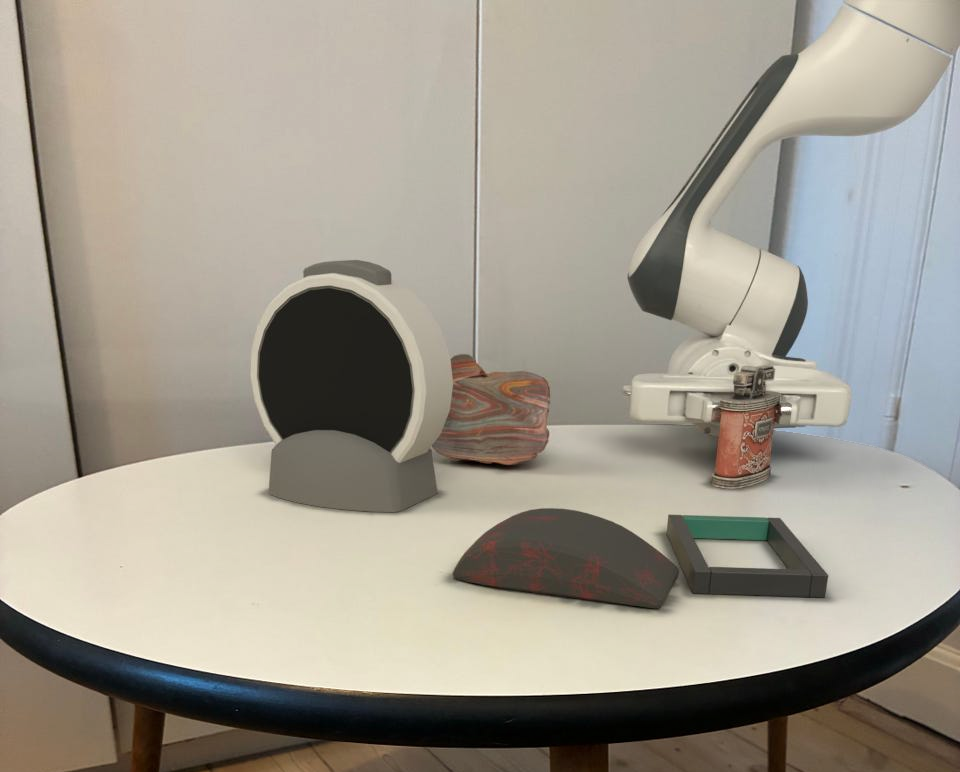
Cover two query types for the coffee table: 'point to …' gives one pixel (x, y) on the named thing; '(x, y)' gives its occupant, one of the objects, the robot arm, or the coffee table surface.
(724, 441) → the lighter
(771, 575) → the frame
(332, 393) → the alarm clock
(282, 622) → the coffee table surface
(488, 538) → the computer mouse
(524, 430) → the stone
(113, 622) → the coffee table surface
